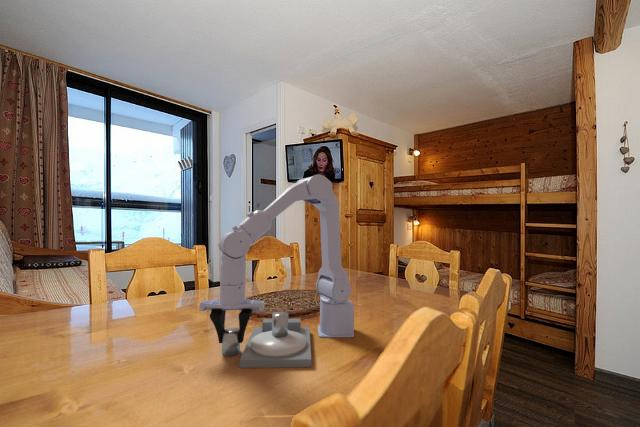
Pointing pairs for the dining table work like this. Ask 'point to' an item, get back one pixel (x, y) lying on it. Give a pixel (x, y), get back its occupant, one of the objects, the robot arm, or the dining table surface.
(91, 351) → the dining table surface
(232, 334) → the cylinder
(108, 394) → the dining table surface
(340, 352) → the dining table surface
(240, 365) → the scale
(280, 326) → the cylinder
